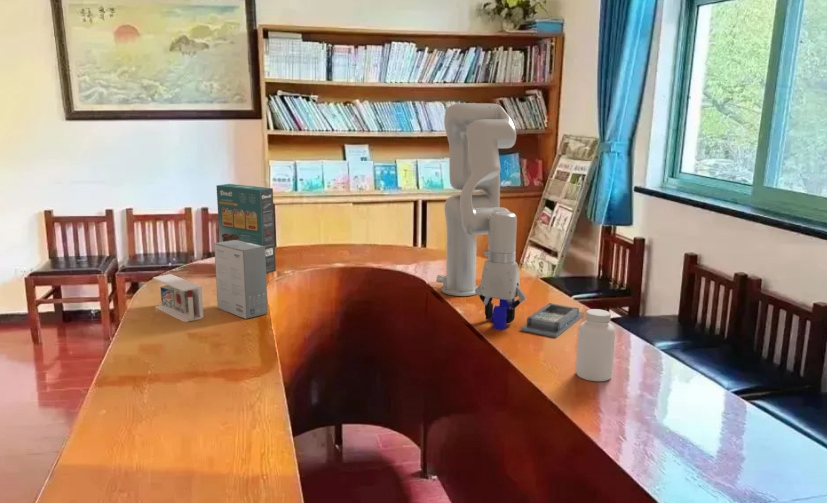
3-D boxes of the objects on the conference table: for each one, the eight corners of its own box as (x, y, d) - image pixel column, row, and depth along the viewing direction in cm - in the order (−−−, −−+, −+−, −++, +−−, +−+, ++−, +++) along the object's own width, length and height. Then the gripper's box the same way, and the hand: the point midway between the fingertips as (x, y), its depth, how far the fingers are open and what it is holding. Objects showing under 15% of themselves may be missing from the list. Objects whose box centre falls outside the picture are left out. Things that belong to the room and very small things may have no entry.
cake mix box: (275, 271, 243) (272, 188, 236) (263, 274, 238) (260, 190, 231) (233, 262, 254) (229, 183, 248) (220, 266, 249) (216, 185, 243)
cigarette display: (155, 307, 199) (152, 277, 197) (172, 304, 203) (170, 273, 201) (187, 323, 185) (185, 290, 183) (205, 319, 189) (204, 287, 187)
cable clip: (494, 315, 195) (495, 295, 193) (510, 316, 194) (511, 296, 192) (488, 328, 183) (488, 307, 182) (504, 330, 182) (505, 308, 181)
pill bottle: (612, 371, 155) (617, 309, 152) (610, 384, 148) (615, 319, 144) (577, 366, 157) (581, 305, 154) (573, 379, 150) (578, 315, 147)
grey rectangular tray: (520, 330, 182) (521, 320, 181) (550, 310, 200) (551, 300, 199) (556, 337, 177) (556, 326, 176) (583, 316, 195) (584, 306, 194)
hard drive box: (269, 314, 194) (266, 246, 190) (246, 320, 189) (242, 250, 184) (238, 303, 204) (235, 238, 200) (216, 308, 199) (212, 242, 195)
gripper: (467, 255, 185) (465, 318, 189) (525, 263, 176) (522, 329, 180) (479, 251, 192) (477, 311, 195) (536, 258, 183) (533, 322, 186)
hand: (499, 319), depth 188 cm, fingers closed on cable clip, 5 cm apart
